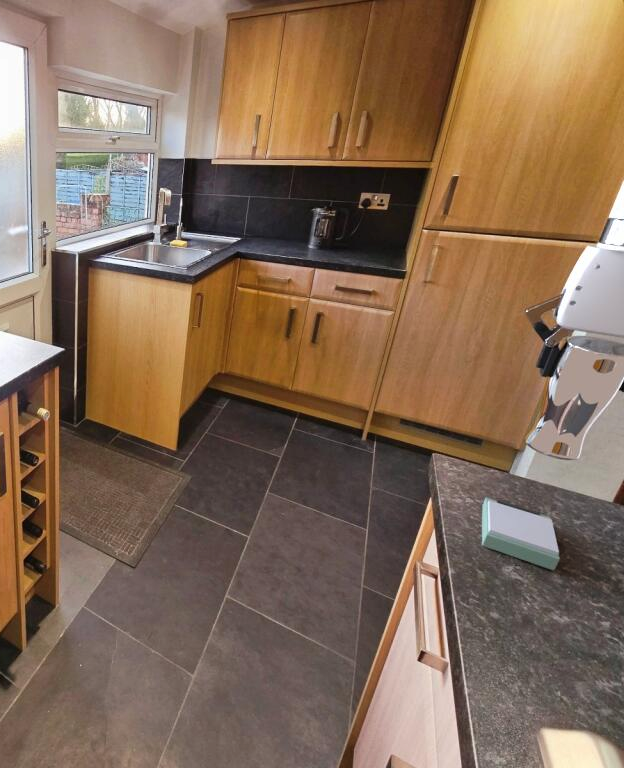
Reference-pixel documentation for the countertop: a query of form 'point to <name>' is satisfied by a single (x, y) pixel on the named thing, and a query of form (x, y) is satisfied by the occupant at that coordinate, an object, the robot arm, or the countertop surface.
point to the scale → (519, 533)
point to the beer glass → (577, 395)
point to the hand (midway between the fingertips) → (581, 380)
